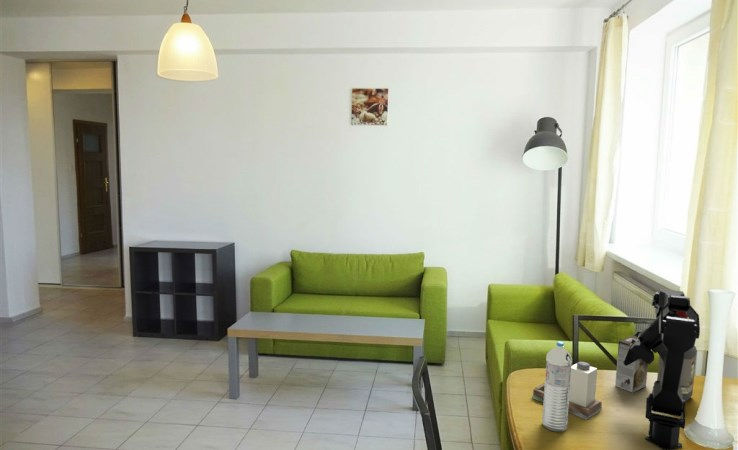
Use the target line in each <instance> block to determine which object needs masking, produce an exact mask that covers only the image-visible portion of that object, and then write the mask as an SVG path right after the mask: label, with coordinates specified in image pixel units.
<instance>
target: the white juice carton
mask: <svg viewBox="0 0 738 450" xmlns="http://www.w3.org/2000/svg"><path fill="white" fill-rule="evenodd" d="M597 376H598V368H597V367H594V366H591V364H590V363H589V362H585V361H578V362H576V363H575V364H572V365H571V377H570V397H569V401H570V402H573V403H575V404H578V405H581V406H583V407H586V408H587V407H588V406H589V405H591V404H593V403H594V402H595V399H596V391H597V390H596V389H597V378H598V377H597Z"/></svg>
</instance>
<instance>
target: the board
mask: <svg viewBox="0 0 738 450" xmlns="http://www.w3.org/2000/svg"><path fill="white" fill-rule="evenodd" d="M544 386H545V382H543V383H541V384H540V385H538V386H536V387H535V388H534V389H533V391H532V393H533V394H532V395H531V399H533V400H536V401H539V402H541V403H543V402H544ZM602 404H603V403H602V400H599V399H597V398H595V402H594V403H593V404H591V405H589V406H588V407H587V408H586V407H583V406H581V405H578V404H575V403H573V402H570V401H569V411H568V414H571V415H575V416H577V417H579V418H581V419H584V420H589V419H590V418H591V417H593V416H594V415H596V414H598V413H599V412H600V411H601V410H603V407H602Z"/></svg>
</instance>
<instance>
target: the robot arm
mask: <svg viewBox="0 0 738 450" xmlns="http://www.w3.org/2000/svg"><path fill="white" fill-rule="evenodd" d="M651 306H653V309H655V310H654V314H655V318H654V320H653V321H652V322H649V323H648V325H647V327H646V328H645V329H644V328H638V329H637V330H636V331H635V332H634V334H633V337H637V340H636V341H635V340H633V339H632V341H631V344H630V347H629V349H628V352H627V355H626V357H625V360H624V362H623V364H624V365H625V366H627V365H629V364H631V363H633V362H635V361H636V360H638V359H642V360H643V361H645V362H646V363H647V364H648V366H649V365H650V366H651V364H652V363H653V362H654V361H655V354H658V355H660V357H661V358H662V360H663V363H664V364H663V370H662V376H661V381H657V380H655V381H654V382H653V386H652V392H651V393H649V394H648V397H646V401H645V416H644V417H645V419H647V420H648V422H649V426H648V436H645V440H647V442H650V443H652V444H653V445H655V446H656V447H658V448H660V449H662V450H674V449H678V448H682V447H683V444H682V443H681V442H679V441H680V432H681V431H680V430H681V428H682V429H685V428H686V402H685V400H683V396H682V390H681V386H680V385H679V384H680V379H681V373H682V368H683V362H684V357H685V353H686V352H687V351H689V350H690V349H692V348H693V347H694V346H695V344H696V340H697V339H700V334H701V329H700V328H701V327H700V326H701V325H700V315H699V314H698V312H697V310H695V309H694V308H693V306H691V298H690V297H687V295H685V293H684V291H681V290H674V289H664V288H659V289H658V291H657V292H655V294H654V295H653V296H652V301H651ZM676 311H680V312H686V315H687V316H688V317H687V318H682V317H681V316H679V315H678V314H677V313H676ZM659 413H660V414H659ZM664 414H665V415H664ZM679 417H680V418H679Z"/></svg>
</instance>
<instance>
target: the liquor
mask: <svg viewBox="0 0 738 450" xmlns="http://www.w3.org/2000/svg"><path fill="white" fill-rule="evenodd" d="M676 313H677V314H678V315H679V316H681V317H682V318H689V317H688V316H687V315H686V312H680V311H676ZM697 354H698V350H697V347H696V346H695V345H694V347H693V348H692V349H690V350H689V351H687V352H686V353H685V357H684V362H683V368H682V373H681V379H680V384H679V385H680V386H681V390H682V396H683V400H685V403H686V402H688V400H689V399H691V398H692V396H693V394H694V393H693V391H694V381H695V373H696V364H697V362H696V361H697V356H698V355H697ZM658 355H659V354H658ZM663 364H664V363H663V360H662V358H661V357H660V355H659V357H658V366H657V367H658V369H657V378H656V379H657V380H656V381H661V376H662V370H663Z"/></svg>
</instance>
